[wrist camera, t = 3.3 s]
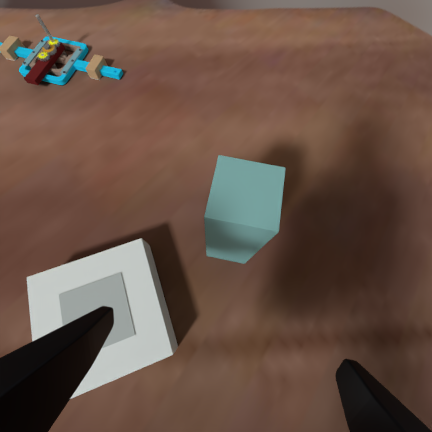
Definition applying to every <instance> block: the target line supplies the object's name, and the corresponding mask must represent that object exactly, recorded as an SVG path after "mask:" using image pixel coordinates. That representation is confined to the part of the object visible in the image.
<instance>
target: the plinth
mask: <svg viewBox="0 0 432 432" xmlns="http://www.w3.org/2000/svg"><path fill="white" fill-rule="evenodd" d="M27 286H28V297H29V308H30V319H31V330H32V341H34V340H36V339H38V338H40V337H42V336H44V335H46V334H48V333H50V332H52V331H54V330H56V329H58V328H60V327H62V326H64V325H66V324H68V323H70V322H72V321H74V320H76V319H78V318H79V317H81V316H83V315H85V314H87V313H89V312H91V311H93V310H95V309H97V308H99V307H101V306H108V307H112V308H113V310H114V325H113V328H112V330H111V332H110V334H109V336H108V337H107V339H106V341H105V343H104V345H103V347H102V349H101V350H100V352H99V354H98V356H97V358H96V360H95V361H94V363H93V365H92V367H91V368H90V370H89V371H88V373H87V374H86V376H85V377H84V379H83V380H82V382H81V383H80V385H79V386H78V388H77V389H76V391H75V392H74V394H73V395H72V397H71V398H73V397H76V396H78V395H80V394H83V393H85V392H87V391H90V390H92V389H94V388H97V387H99V386H101V385H104V384H106V383H108V382H111V381H113V380H115V379H118V378H120V377H122V376H125V375H127V374H129V373H132V372H134V371H136V370H139V369H141V368H143V367H146V366H148V365H150V364H153V363H155V362H157V361H159V360H162V359H164V358H166V357H169V356H171V355H173V354H174V352H175V351H176V349H177V347H178V344H177V341H176V337H175V334H174V330H173V327H172V323H171V319H170V316H169V312H168V309H167V305H166V302H165V298H164V294H163V291H162V287H161V284H160V280H159V277H158V273H157V270H156V266H155V262H154V259H153V255H152V252H151V248H150V245H149V244H148V243H147V242H145V241H144V240H143V239H142V238H140V239H137V240H134V241H132V242H129V243H126V244H123V245H120V246H117V247H114V248H111V249H108V250H105V251H102V252H99V253H97V254H94V255H91V256H88V257H85V258H82V259H79V260H76V261H73V262H70V263H67V264H64V265H61V266H59V267H56V268H53V269H50V270H47V271H44V272H41V273H38V274H35V275H32V276H29V277H27ZM71 398H70V399H71Z"/></svg>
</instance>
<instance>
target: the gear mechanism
mask: <svg viewBox="0 0 432 432" xmlns="http://www.w3.org/2000/svg"><path fill="white" fill-rule="evenodd" d="M35 16H36V18H37V19H38V21H39V22H40V24H41V26H42V27H43V29H44V30H45V32H46V34H47V35H48V36H47V37H45V38H44V39H43V40H41V41H40V43H39V44H38V45H37V46H36V47H35V49H34V50H32V49H28V48H25V46H24V45H23V44H22V42H21V41H20V40H19V38H18V37H13V36H9V37H8V38H7V39H6V40H5V41H4V42H3V43H1V42H0V52H1V53H2V54H3V55H4V57H5V58H6V59H9V60H14V61H15V60H16V59H17V58H18V57H23V58H26V60H25V61H24V62H23V63H22V64H23V65H22V66H21V67H20V69H19V72H20V73H21V74H22V75H23V76H24V79H25V80H26V81H27V83H31V84H35V85H39V83H40V82H41V81H45V82H49V83H54V84H58V85H64V84H66V83H67V82H68V80H69V79H70V78H71V76H72V75H73V73H74V72H75V70H80V71H85V72H88V74H89V76H90V78H93V79H97V80H100V78H101V76H107V77H111V78H116V79H121V77H122V75H123V72H122V69H117V68H113V67H108V65H107V63H106V61H105V59H104V57H103V56H99V55H94V56H93V58H92V59H91V61H90V62H86V61H82V60H83V59H84V57H85V56H86V54H87V53H88V51H89V50H88V48H87V46H86V44H84V43H79V42H74V41H70V40H65V39H61V38H56V37H52V36H51V34H50V33H49V31H48V30H47V28H46V26H45V25H44V23H43V21H42V20H41V18H40V16H39V15H38V14H37V15H35ZM64 50H69V51H70V50H71V51H73V52H74V51H75V52H74V53H72V54H73V55H72V54H71V56H70V55H69V56H68V57H67V54H66V52H65V51H64ZM55 62H56V63H57V62H58V63H59V62H60V63H62V64H63V63H64V64H65V65H64V66H63V68H61V69H60V68H59V69H57V66H56V65H55ZM47 73H50V74H54V75H58V76H60V77H56V76H51V75H47Z"/></svg>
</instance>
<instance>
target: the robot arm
mask: <svg viewBox="0 0 432 432" xmlns="http://www.w3.org/2000/svg"><path fill="white" fill-rule="evenodd" d="M113 325H114V310H113V308H112V307H108V306H101V307H99V308H97V309H95V310H93V311H91V312H89V313H87V314H85V315H83V316H81V317H79V318H78V319H76V320H74V321H72V322H70V323H68V324H66V325H64V326H62V327H60V328H58V329H56V330H54V331H52V332H50V333H48V334H46V335H44V336H42V337H40V338H38V339H36V340H34V341H32V342H31V343H29V344H27V345H25V346H23V347H21V348H19V349H17V350H15V351H13V352H11V353H9V354H7V355H5V356H3V357H1V358H0V432H48V431H49V429H50V428H51V426H52V425H53V423H54V422H55V421H56V419H57V418H58V416H59V415H60V413H61V412H62V410H63V409H64V407H65V406H66V404H67V403H68V401H69V400H70V398H71V397H72V395H73V394H74V392H75V391H76V389H77V388H78V386H79V385H80V383H81V382H82V380H83V379H84V377H85V376H86V374H87V373H88V371H89V370H90V368H91V367H92V365H93V363H94V361H95V360H96V358H97V356H98V354H99V352H100V350H101V349H102V347H103V345H104V343H105V341H106V339H107V337H108V336H109V334H110V332H111V330H112V328H113ZM336 381H337V385H338V389H339V393H340V397H341V401H342V405H343V409H344V413H345V417H346V421H347V424H348V427H349V430H350V432H432V431H431V430H430V429H429V428H428V427H427V426H426V425H425V424H424V423H422V422H421V421H420V420H419V419H418V418H417V417H416V416H415V415H414V414H413V413H412V412H411V411H410V410H408V409H407V408H406V407H405V406H404V405H403V404H402V403H401V402H400V401H399V400H398V399H397V398H396V397H395V396H393V395H392V394H391V393H390V392H389V391H388V390H387V389H386V388H385V387H384V386H383V385H382V384H381V383H379V382H378V381H377V380H376V379H375V378H374V377H373V376H372V375H371V374H370V373H369V372H368V371H367V370H366V369H364V368H363V367H362V366H361V365H360V364H359V363H358V362H357V361H354V360H349V359H344V360H343V362H342V363H341V365H340V366H339V368H338V369H337V371H336Z"/></svg>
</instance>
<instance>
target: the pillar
mask: <svg viewBox="0 0 432 432" xmlns="http://www.w3.org/2000/svg"><path fill="white" fill-rule="evenodd" d="M284 177H285V167H279V166H274V165H269V164H263V163H258V162H253V161H247V160H242V159H237V158H231V157H226V156H221V155H219V156H218V160H217V165H216V169H215V173H214V178H213V182H212V186H211V191H210V195H209V199H208V203H207V208H206V212H205V216H204V220H205V236H206V253H207V256H210V257H215V258H220V259H225V260H229V261H234V262H239V263H244V264H245V263H246V262H247V261H248V260H249V259H250V258H251V257H252V256H253V255H254V254H255V253H256V252H257V251H259V250H260V249H261V248H262V247H263V246H264V245H265V244H266V243H267V242H268V241H269V240H270V239H272V238H273V237H274V236H275V235H276V234H277V233H278V232H279V224H280V215H281V205H282V196H283V186H284Z"/></svg>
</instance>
